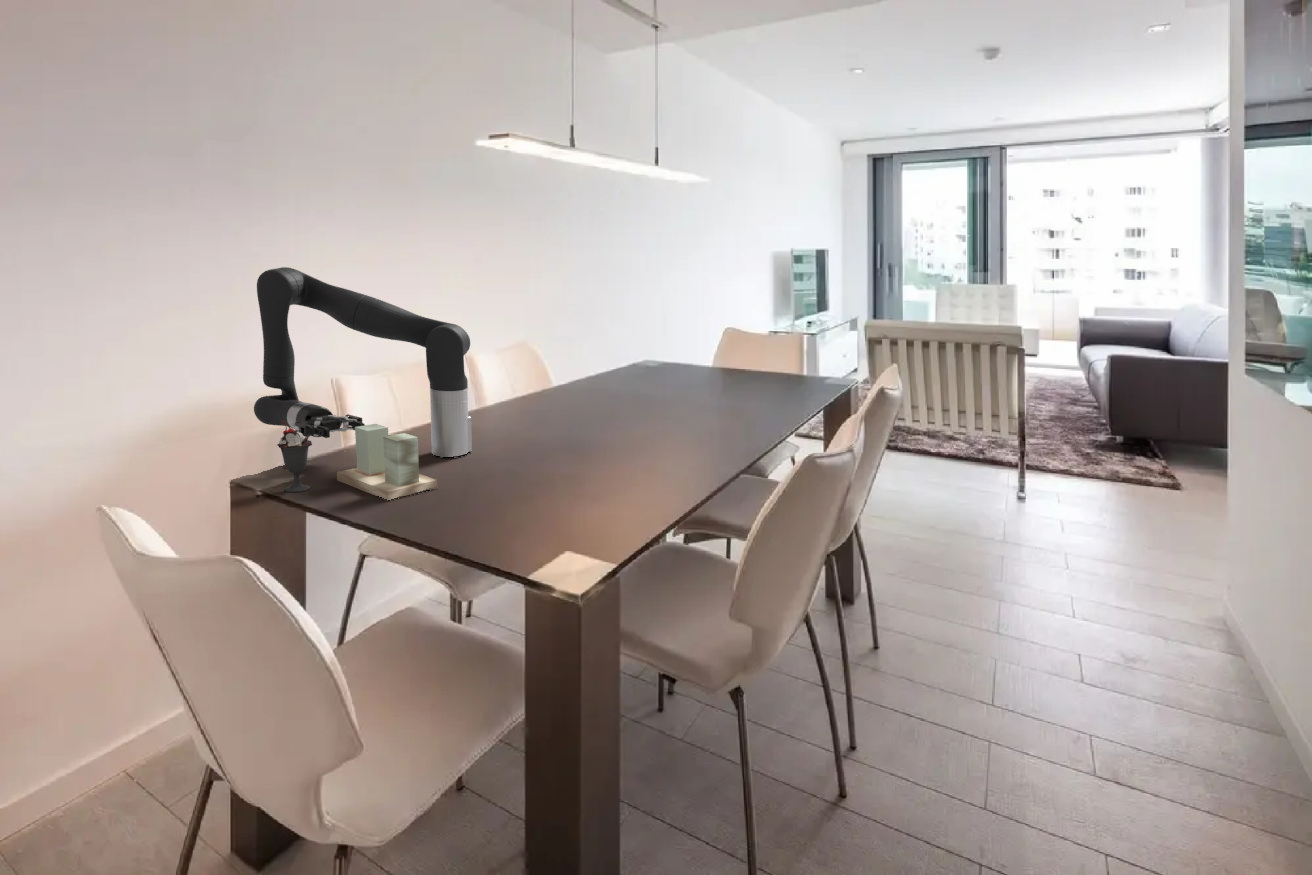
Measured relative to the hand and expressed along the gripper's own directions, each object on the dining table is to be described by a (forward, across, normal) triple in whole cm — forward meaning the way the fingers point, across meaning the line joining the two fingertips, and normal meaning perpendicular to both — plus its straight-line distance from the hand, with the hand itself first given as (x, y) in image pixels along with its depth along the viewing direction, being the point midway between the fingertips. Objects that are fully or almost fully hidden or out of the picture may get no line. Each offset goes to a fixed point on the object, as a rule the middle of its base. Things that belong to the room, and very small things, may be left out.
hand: (345, 430), depth 170 cm
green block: (+11, 0, +7) cm, 13 cm away
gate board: (+16, 0, +10) cm, 19 cm away
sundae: (+6, -15, +10) cm, 19 cm away
